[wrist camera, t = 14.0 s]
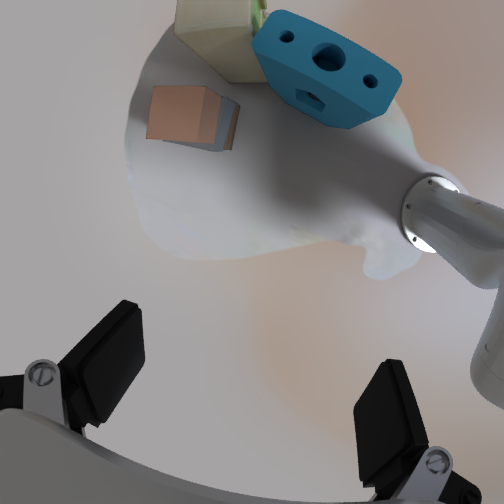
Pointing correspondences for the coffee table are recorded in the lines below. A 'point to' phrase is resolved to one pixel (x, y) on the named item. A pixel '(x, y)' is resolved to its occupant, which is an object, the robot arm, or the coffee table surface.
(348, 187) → the coffee table surface
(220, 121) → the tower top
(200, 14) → the cream box
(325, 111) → the block
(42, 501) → the robot arm
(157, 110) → the terracotta cube
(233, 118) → the tower bottom
